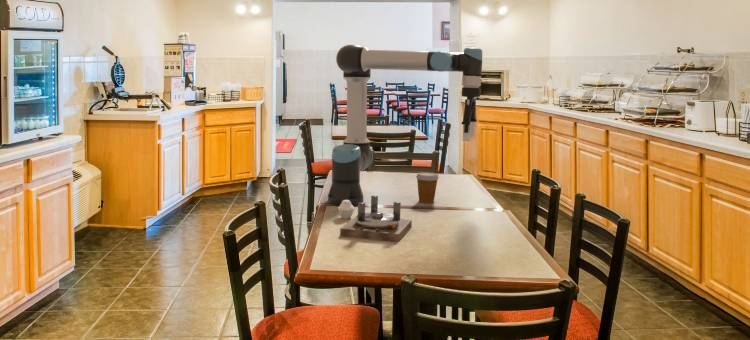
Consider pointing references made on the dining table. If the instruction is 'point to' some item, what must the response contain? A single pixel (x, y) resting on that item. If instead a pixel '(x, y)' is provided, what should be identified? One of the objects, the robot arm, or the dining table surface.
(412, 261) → the dining table surface
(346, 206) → the muffin
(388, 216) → the capstan
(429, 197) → the disposable coffee cup
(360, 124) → the robot arm
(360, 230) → the stand
